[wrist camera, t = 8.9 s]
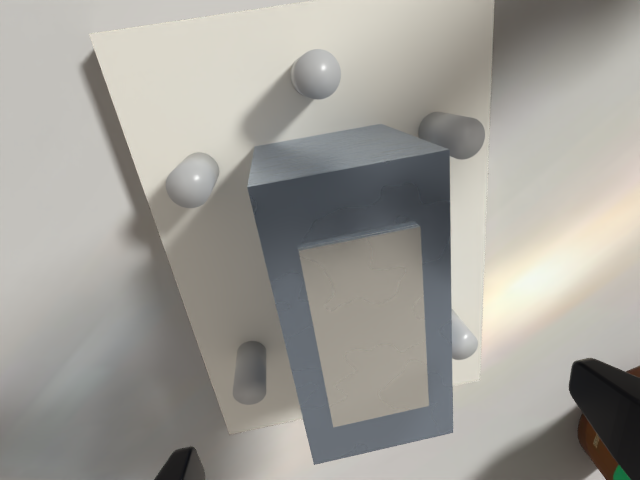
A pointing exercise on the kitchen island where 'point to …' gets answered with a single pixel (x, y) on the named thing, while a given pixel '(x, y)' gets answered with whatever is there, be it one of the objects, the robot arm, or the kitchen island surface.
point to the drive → (361, 283)
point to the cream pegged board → (288, 124)
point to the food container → (601, 446)
